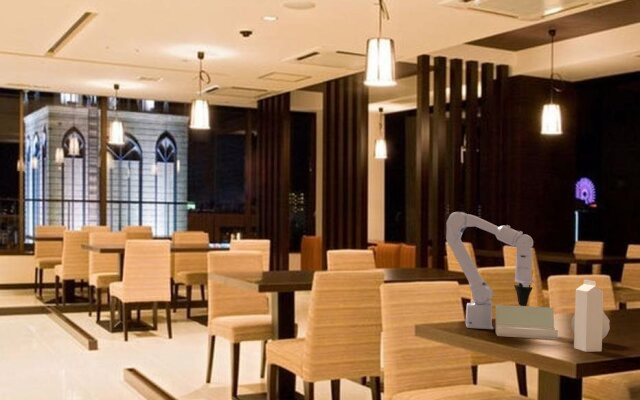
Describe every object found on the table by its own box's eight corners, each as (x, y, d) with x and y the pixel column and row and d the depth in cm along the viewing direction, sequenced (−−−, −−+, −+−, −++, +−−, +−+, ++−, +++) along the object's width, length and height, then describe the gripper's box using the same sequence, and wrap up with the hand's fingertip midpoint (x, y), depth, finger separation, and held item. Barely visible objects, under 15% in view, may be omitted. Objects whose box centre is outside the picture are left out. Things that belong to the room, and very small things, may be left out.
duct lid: (495, 304, 260) (495, 305, 260) (495, 324, 257) (495, 324, 258) (553, 307, 257) (552, 308, 258) (554, 327, 255) (553, 327, 255)
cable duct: (497, 335, 250) (497, 327, 250) (495, 332, 257) (495, 324, 257) (557, 339, 248) (557, 330, 248) (553, 336, 255) (554, 327, 255)
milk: (585, 352, 226) (587, 281, 226) (573, 348, 232) (575, 279, 232) (602, 351, 228) (604, 281, 228) (589, 347, 233) (591, 279, 234)
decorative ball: (612, 346, 237) (613, 310, 237) (574, 344, 239) (575, 308, 239) (604, 340, 249) (605, 305, 249) (568, 338, 251) (569, 303, 251)
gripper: (538, 269, 256) (537, 308, 255) (531, 266, 270) (530, 303, 270) (517, 268, 256) (516, 307, 256) (512, 266, 271) (511, 302, 271)
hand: (522, 305), depth 263 cm, fingers open, 3 cm apart
